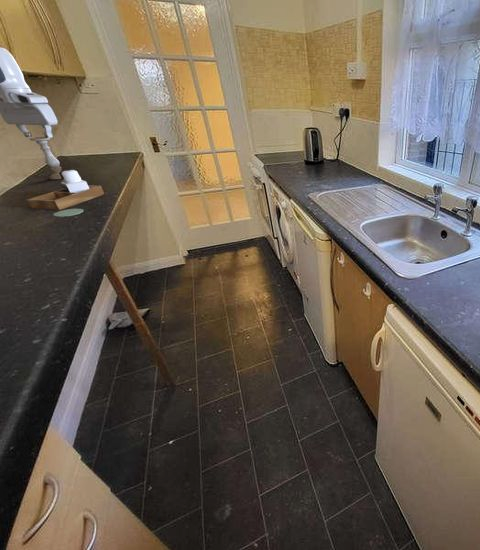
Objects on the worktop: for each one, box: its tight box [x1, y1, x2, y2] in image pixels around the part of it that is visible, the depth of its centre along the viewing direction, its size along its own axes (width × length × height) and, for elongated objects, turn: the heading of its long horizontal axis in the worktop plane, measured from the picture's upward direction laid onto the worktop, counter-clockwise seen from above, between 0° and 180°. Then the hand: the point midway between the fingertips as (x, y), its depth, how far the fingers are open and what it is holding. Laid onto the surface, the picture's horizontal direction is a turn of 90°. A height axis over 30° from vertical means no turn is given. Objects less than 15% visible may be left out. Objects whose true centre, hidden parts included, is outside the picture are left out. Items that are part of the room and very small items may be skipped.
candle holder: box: [29, 136, 62, 180], centre depth 158 cm, size 9×9×20 cm
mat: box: [52, 208, 84, 218], centre depth 117 cm, size 9×9×1 cm
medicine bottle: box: [59, 168, 89, 192], centre depth 131 cm, size 7×7×12 cm
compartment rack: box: [25, 184, 105, 211], centre depth 128 cm, size 12×23×4 cm, turn 178°
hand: (39, 137), depth 119 cm, fingers open, 8 cm apart
